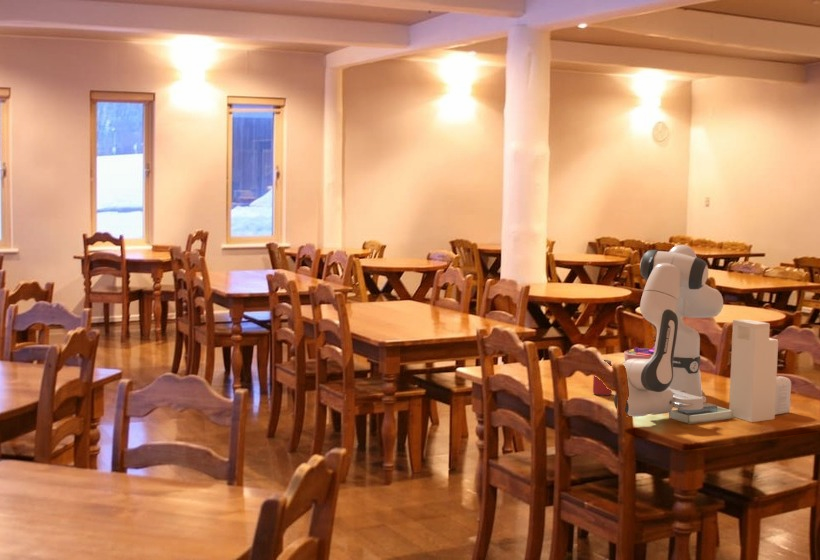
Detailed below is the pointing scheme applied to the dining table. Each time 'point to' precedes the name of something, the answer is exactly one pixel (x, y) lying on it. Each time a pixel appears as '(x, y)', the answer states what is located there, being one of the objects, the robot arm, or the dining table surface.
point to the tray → (702, 416)
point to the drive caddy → (701, 410)
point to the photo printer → (782, 395)
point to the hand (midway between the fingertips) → (694, 396)
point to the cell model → (639, 353)
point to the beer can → (600, 385)
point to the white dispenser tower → (753, 371)
